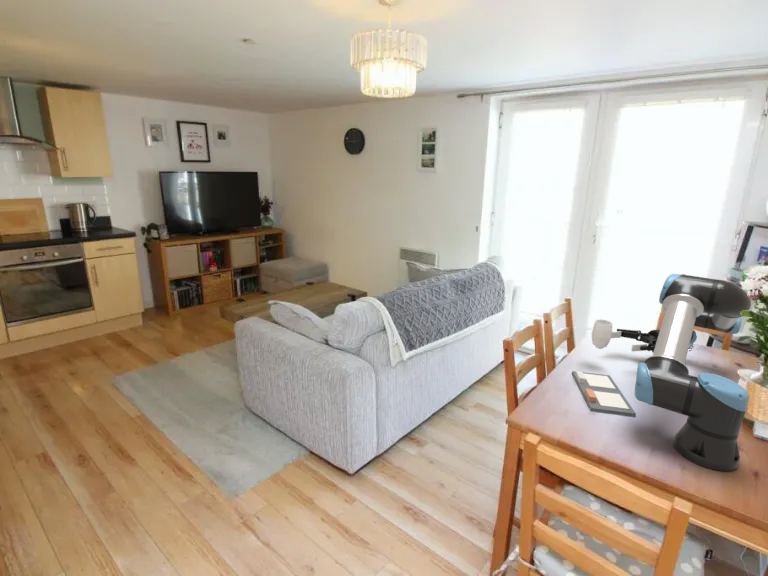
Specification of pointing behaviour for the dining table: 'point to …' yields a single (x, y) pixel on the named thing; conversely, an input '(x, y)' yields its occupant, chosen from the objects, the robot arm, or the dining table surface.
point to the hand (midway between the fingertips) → (619, 341)
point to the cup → (601, 333)
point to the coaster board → (602, 394)
